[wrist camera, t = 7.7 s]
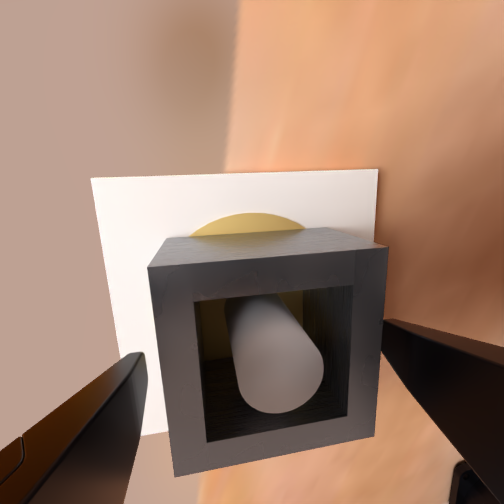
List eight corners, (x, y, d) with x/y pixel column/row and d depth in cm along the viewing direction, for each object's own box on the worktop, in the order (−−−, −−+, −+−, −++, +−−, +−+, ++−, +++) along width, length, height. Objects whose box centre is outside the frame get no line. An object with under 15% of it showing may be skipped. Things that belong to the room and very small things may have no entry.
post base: (353, 382, 15) (436, 488, 10) (138, 418, 13) (97, 572, 8) (364, 170, 12) (485, 157, 7) (100, 178, 11) (2, 170, 5)
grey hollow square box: (323, 363, 13) (374, 436, 9) (182, 384, 12) (174, 477, 8) (326, 227, 12) (388, 246, 8) (166, 238, 10) (147, 267, 7)
